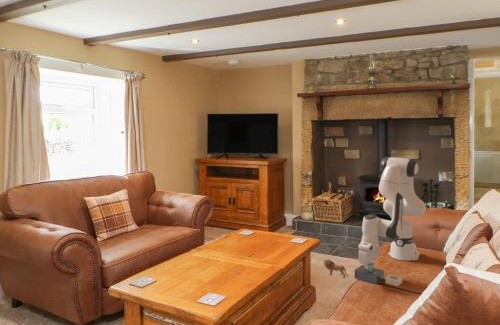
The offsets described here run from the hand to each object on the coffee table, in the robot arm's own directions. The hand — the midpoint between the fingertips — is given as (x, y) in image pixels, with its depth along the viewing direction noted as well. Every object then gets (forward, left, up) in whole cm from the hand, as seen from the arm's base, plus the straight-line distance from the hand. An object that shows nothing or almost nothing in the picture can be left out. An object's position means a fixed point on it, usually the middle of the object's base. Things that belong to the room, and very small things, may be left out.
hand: (369, 267), depth 222 cm
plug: (0, 0, -7) cm, 7 cm away
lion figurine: (+8, -17, -7) cm, 20 cm away
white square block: (-3, +13, -7) cm, 15 cm away
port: (0, 0, -7) cm, 7 cm away
